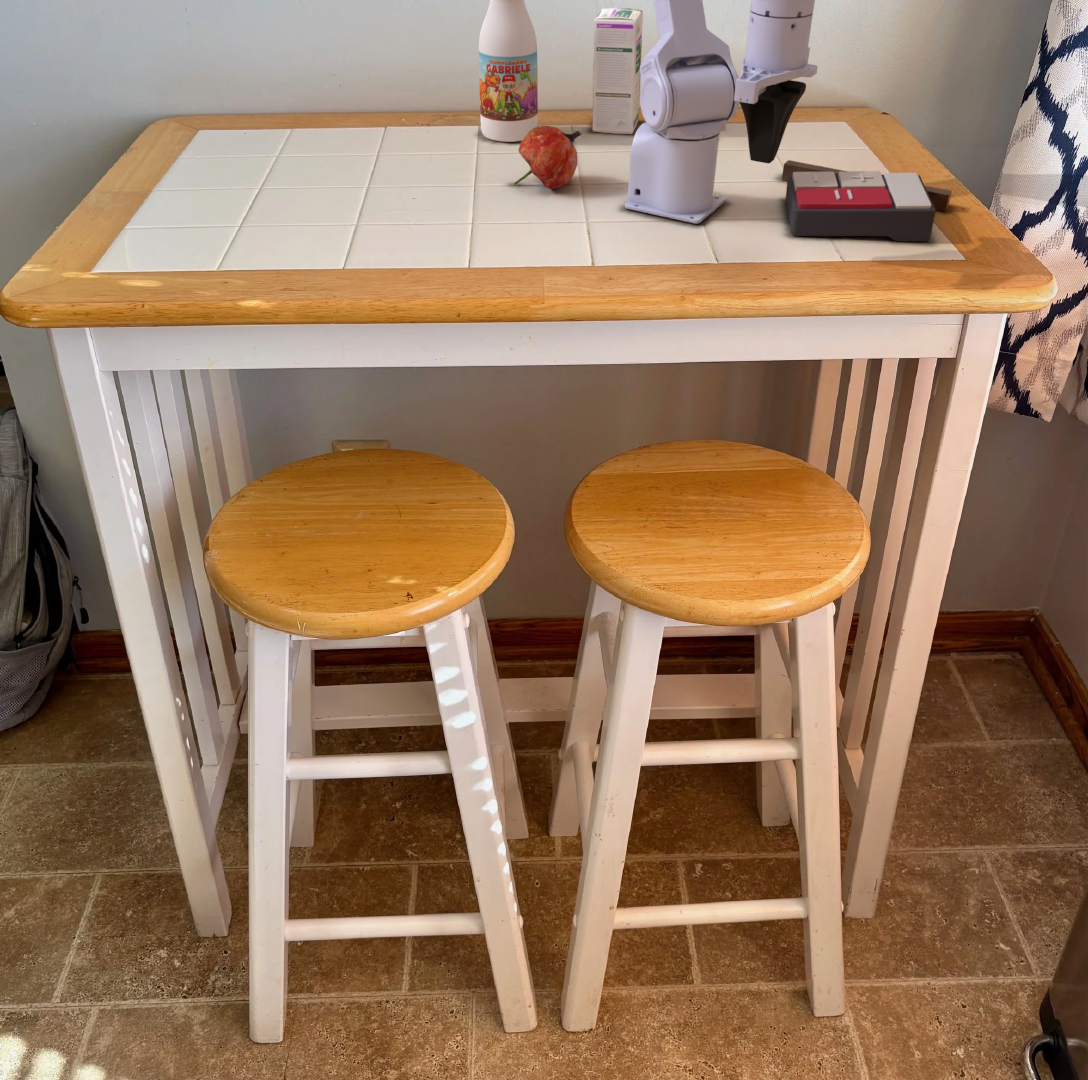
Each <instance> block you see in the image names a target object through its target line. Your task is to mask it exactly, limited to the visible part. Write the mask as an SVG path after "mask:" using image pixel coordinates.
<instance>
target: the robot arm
mask: <svg viewBox="0 0 1088 1080" xmlns="http://www.w3.org/2000/svg"><path fill="white" fill-rule="evenodd" d="M652 2H653V8H654V15H655V21H656V27H657V35H658V41H657V42H656V44H654V46H653V47H652V48H651V49H650V50H649V51H648V52H647V54H646V55H645V56H644V58H643V59H642V60H641V65H640V96H639V105H640V110H641V114H642V117H643V119H644V121H645V122H643V123H642V124H641V125H640V126H639V127H638V128H637V130H636V132H635V134H634V136H633V139H632V143H631V147H630V153H629V170H628V187H627V188H628V189H627V201H626V202H624V208H625V209H627V210H630V211H631V210H632V211H636V212H640V213H645V214H650V215H655V216H659V217H663V218H668V219H672V220H677V221H681V222H686V223H691V224H695V225H696V224H700V223H701V222H703V221H704V220H705V219H706V218H707V217H709V216H710V215H711V214H712V213H714V212H715V211H716V210H717V209H718V208H719V207H721V206H722V205H723V204H725V201H726V199H725V198H724V197H722V196H716V195H714V190H715V180H716V171H717V160H718V153H719V152H718V151H719V142H720V135H721V134H720V133H721V132H726V131H727V123H728V122H730V121H731V120H733V119H734V118H735V116H736V114H737V113H738V111H739V107H741V110H742V113H743V117H744V120H745V125H746V132H747V142H748V152H749V159H750V161H752V162H757V163H763V164H771V163H772V162H774V161H775V159H776V156H777V155H778V152H779V149H780V146H781V143H782V140H783V137H784V134H785V131H786V129H787V126H788V123H789V121H790V119H791V116H792V114H793V112H794V110H795V109H796V106H797V104H798V103H799V101H800V100H801V98H802V96H803V95H804V94H805V92H806V89H807V84H806V82H803V81H799V80H798V81H797V80H795V79H799V78H813V77H814V76H815V75H816V74H818V65H816V64H811V63H809V58H810V51H811V47H810V46H809V43H810V36H811V29H812V24H813V23H812V21H813V15H814V9H815V2H816V0H751V1H750V9H749V17H748V18H749V19H748V26H747V36H746V44H745V55H744V59H742V61H741V71H740V76H739V74H738V71H737V70H736V68H735V66H734V63H733V59H732V56H731V51H730V50H731V49H730V45H728V44H727V43H726V42H725V41H724V40H723V39H721V38H719V36H717V35H716V34H714V33H713V32H711V31H710V30H709V29H708V28H707V21H706V16H705V10H704V2H703V0H652Z"/></svg>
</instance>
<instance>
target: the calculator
mask: <svg viewBox="0 0 1088 1080" xmlns="http://www.w3.org/2000/svg"><path fill="white" fill-rule="evenodd" d="M846 171H847V172H839V174H838V175H835V173H834V172H793V175H790V176H788V180H787V181H786V191H785V204H786V211H787V216H788V221H789V227H790V228H789V229H790V233H791V235H792V236H793V237H888V238H890V239H891V240H893V241H894V242H929V241H930V240H931V237H932V231H933V227H934V223H935V222H934V221H935V217H936V211H937V210H936V209H935V207H934V205H933V203H932V201H931V198H930V196H929V194H928V192H927V190H926V188H925V186H926V185H925V183H924V181H923V178H922V177H921V175H920V174H918V173H917V172H884V173H883V174H882V172H881V171H878V170H872V171H871V170H870V171H869V170H863V171H862V170H861V171H859V170H858V171H856V170H855V171H853V170H852V171H848V170H846Z"/></svg>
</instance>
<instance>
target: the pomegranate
mask: <svg viewBox="0 0 1088 1080" xmlns="http://www.w3.org/2000/svg"><path fill="white" fill-rule="evenodd" d="M580 136H583V133H582V132H581V131H579V130H576V131H574V132H572V133H565V132H564V131H563V130H562V129H560V128H558V127H556V126H549V125H543V124H542V125H539V126H538V127H535V128H533V129H532V130H531V131H529V132H528V134H527V135H526V136H525V137H524V139H523V140H522V141H520V144H519V146H518V153H519V154H520V156H521V157H522V158H523V160H524V161H525V162H526V163H527V164H528V166H529V168H530V170H528V172H526V173H525V174H524V175H523V176H522V177H520V178H519V179H518V180H516V181H515V182H514V183H513V185H514V186H517V184H519V183H521V182H522V181H523V180H526V179H527V177H528V176H530V175H531V174H532V175H534V176H535V177H536V178H537V179H538V180H539V181H541V184H542V185H543V187H545V188H547V189H549V190H555V189H558V188H560V187H563V186H564V185H566V184H567V183H569V182H570V180H572V178H573V176H574V175H575V172H576V170H577V167H578V151H577V149H576V147H575V145H574V142H575V140H576V139H577V138H578V137H580Z"/></svg>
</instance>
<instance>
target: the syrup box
mask: <svg viewBox="0 0 1088 1080" xmlns="http://www.w3.org/2000/svg"><path fill="white" fill-rule="evenodd" d="M643 17H644V11H643V10H642V9H638V8H637V9H636V8H628V7H608V8H603V7H602V8H601V10H600V12H599V13H598V14H597V15H596V17H595V18H594V19H593V56H592V57H593V59H592V60H593V64H592V119H591V120H592V125H591V127H592V128H591V130H592V132H595V133H596V132H597V133H604V134H619V135H633V133H634V131H635V129H636V127H637V125H638V123H639V117H640V92H641V75H640V65H641V63H642V47H643V46H642V43H643V20H644V19H643Z"/></svg>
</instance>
